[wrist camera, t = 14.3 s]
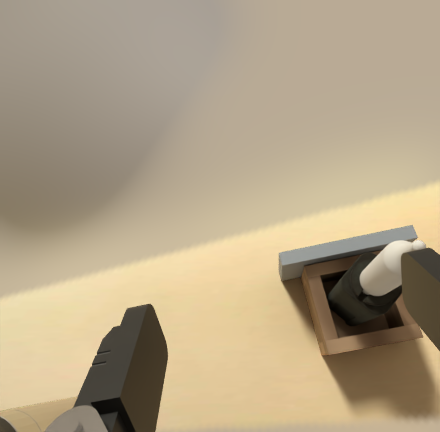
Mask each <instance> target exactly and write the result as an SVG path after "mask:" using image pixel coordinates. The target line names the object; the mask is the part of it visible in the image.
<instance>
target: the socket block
mask: <svg viewBox="0 0 440 432" xmlns="http://www.w3.org/2000/svg"><path fill="white" fill-rule="evenodd" d="M381 251H382V250H380V251H375V252H371V253H374V254H376V255H378V254H379V253H380V252H381ZM360 255H361V254H360ZM360 255H356V256H351V257H346V258H341V259H336V260H331V261H326V262H321V263H317V264H312V265H307V266H304V269H303V273H302V276H301V280H302V284H303V288H304V292H305V295H306V299H307V303H308V306H309V310H310V314H311V318H312V321H313V325H314V329H315V332H316V336H317V340H318V344H319V347H320V351H321V355H331V354H337V353H342V352H347V351H353V350H358V349H364V348H369V347H374V346H380V345H385V344H391V343H396V342H401V341H407V340H412V339H418V338H423V335H422V333H421V330H420V327H419V325H418V324H417V323H416V322H415V320H414V319H413V318H412V317H411V315H410V314H409V313H408V311H407V309H406V307H405V304H404V301H403V296H402V294H401V295H400V297H399V298H398V299H397V300H396V302H395V303H394V304H393V306H392V307H391V308H390V309H389V311H388V312H387V313H385V314H383V315H381V316H378V317H376V318H374V319H371V320H369V321H366V322H364V323H362V324H359V325H357V326H349V325H347V324H346V323H345V321H344V320H343V319H342V318H341V317H339V316H338V315H337V314H336V313H335V312H334V311H332V310H331V309H330V308H329V305H328V301H327V298H326V297H327V296H328V294H329V293H330V292H331V291H332V289H333V288H334V287H335V285H336V284H337V283H338V282H339V280H340V279H341V278H342V277H343V275H344V274H345V273H346V272H347V271H348V269H349V268H350V267H351V266H352V265H353V263H354V262H355V261H356V260H357V259H358V257H359V256H360Z"/></svg>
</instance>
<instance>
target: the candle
mask: <svg viewBox="0 0 440 432" xmlns="http://www.w3.org/2000/svg"><path fill="white" fill-rule="evenodd" d="M425 248H426V245H425V243H424V242H423V241H420V240H416V241H414V242H413V243H411V242H408V241H404V240H399V241H394V242H392V243H390V244H388V245H387V246H386V247H385V248H384V249H383V250H382V251H381V252H380V253H379V254H378V255H376V254H374V253H371V252H367V253H363V254H361V255H360V256H359V257H358V259H357V260H356V261H355V262H354V263H353V265H352V266H351V267H350V268H349V269H348V271H347V272H346V273H345V274H344V275H343V277H342V278H341V279H340V280H339V282H338V283H337V284H336V285H335V287H334V288H333V289H332V291H331V292H330V293H329V294H328V296H327V297H326V298H327V301H328V305H329V308H330V309H331V310H332V311H334V312H335V313H336V314H337V315H338V316H339V317H341V318H342V319H343V320H344V321H345V323H346V324H347V325H349V326H357V325H359V324H362V323H364V322H366V321H369V320H371V319H374V318H376V317H378V316H381V315H383V314H385V313H387V312H388V311H389V309H390V308H391V307H392V306H393V304H394V303H395V302H396V300H397V299H398V298H399V297H400V295H401V294H402V277H401V255H402V254H403V253H405V252H410V251H415V250H420V249H425Z"/></svg>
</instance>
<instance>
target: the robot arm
mask: <svg viewBox="0 0 440 432" xmlns="http://www.w3.org/2000/svg"><path fill="white" fill-rule="evenodd" d="M401 277H402V296H403V301H404V304H405V307H406V309H407V311H408V313H409V314H410V315H411V317H412V318H413V319H414V320H415V322H416V323H417V324H418V325H419V326H420V328H421V329H422V330H423V331H424V333H425V334H426V335H427V336H428V337H429V339H430V340H431V341H432V342H433V343H434V345H435V346H436V347H437V348H438V350H439V351H440V255H439V254H438V253H436V252H435V251H434V250H433V249H431V248H425V249H420V250H415V251H410V252H405V253H403V254H402V255H401ZM167 360H168V351H167V344H166V340H165V337H164V335H163V332H162V329H161V326H160V324H159V321H158V318H157V315H156V313H155V310H154V308H153V306H152V305H151V304H146V305H141V306H136V307H132V308H128V309H127V310H126V312H125V315H124V317H123V320H122V322H121V325H120V326H116V327H113V328H112V329H111V331H110V332H109V333H108V334H107V335H106V336H105V337H104V339H103V340H102V342H101V344H100V347H99V349H98V351H97V355H96V356H95V358H94V361H93V363H92V367H90V370H89V372H88V374H87V377H86V379H85V381H84V383H83V386H82V388H81V390H80V393H79V395H78V397H73V398H67V399H61V400H56V401H50V402H45V403H40V404H34V405H29V406H23V407H18V408H13V409H7V410H3V411H0V432H155V430H156V424H157V418H158V413H159V407H160V401H161V395H162V389H163V384H164V378H165V372H166V366H167Z"/></svg>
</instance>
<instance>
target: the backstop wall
mask: <svg viewBox="0 0 440 432" xmlns="http://www.w3.org/2000/svg"><path fill="white" fill-rule="evenodd" d="M417 238H418V237H417V234H416V232H415V230H414V227H413V225H410V226H405V227H401V228H396V229H391V230H386V231H381V232H377V233H372V234H367V235H362V236H358V237H353V238H348V239H343V240H338V241H334V242H329V243H324V244H319V245H314V246H310V247H305V248H300V249H295V250H291V251H286V252H281V253H279V274H280V278H281V281H284V280H289V279H294V278H299V277H301V276H302V273H303V269H304V266H307V265H312V264H317V263H321V262H326V261H331V260H336V259H341V258H346V257H351V256H356V255H360V254H363V253H367V252H375V251H380V250H383V249H384V248H385V247H386V246H387V245H388V244H390V243H392V242H394V241H399V240H404V241H408V242H411V243H412V242H413V241H414V240H416V239H417Z"/></svg>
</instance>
